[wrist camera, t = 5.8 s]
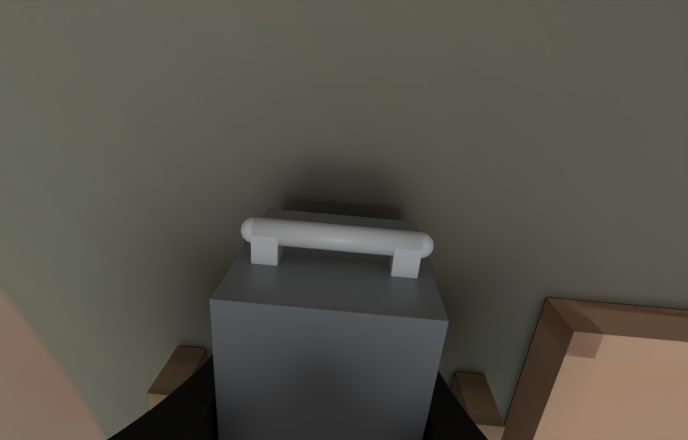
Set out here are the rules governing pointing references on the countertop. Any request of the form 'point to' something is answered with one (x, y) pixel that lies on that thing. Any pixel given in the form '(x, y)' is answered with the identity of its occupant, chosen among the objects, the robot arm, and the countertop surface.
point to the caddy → (327, 330)
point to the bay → (465, 388)
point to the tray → (603, 375)
